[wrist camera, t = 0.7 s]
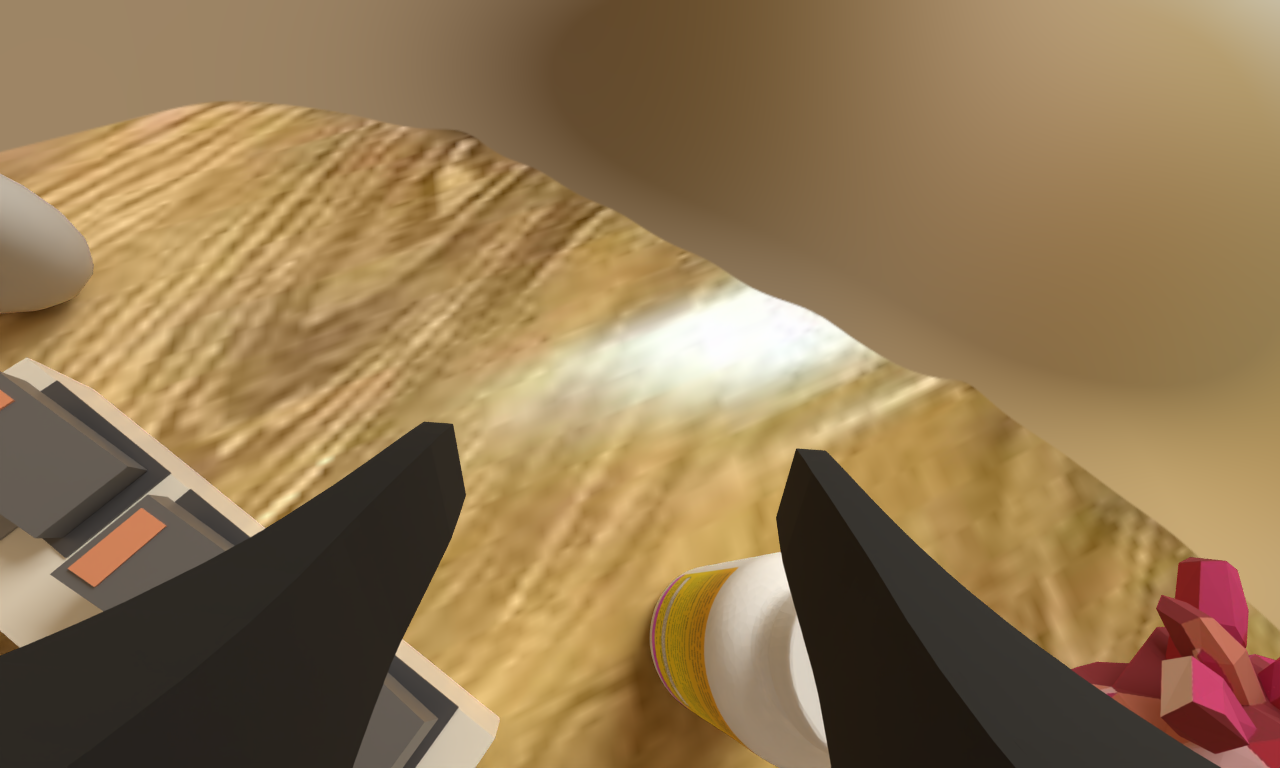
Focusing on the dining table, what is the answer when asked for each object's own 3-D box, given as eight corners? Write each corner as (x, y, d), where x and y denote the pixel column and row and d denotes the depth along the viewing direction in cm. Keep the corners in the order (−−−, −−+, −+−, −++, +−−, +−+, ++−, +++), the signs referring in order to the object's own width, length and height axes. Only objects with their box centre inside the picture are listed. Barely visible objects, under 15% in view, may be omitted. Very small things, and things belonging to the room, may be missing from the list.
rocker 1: (62, 537, 18) (32, 538, 17) (-72, 443, 18) (-114, 436, 16) (147, 470, 20) (126, 465, 18) (26, 380, 19) (-6, 369, 18)
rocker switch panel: (386, 887, 19) (352, 954, 15) (-66, 498, 21) (-190, 477, 17) (500, 716, 22) (495, 740, 18) (94, 388, 24) (17, 350, 20)
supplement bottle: (664, 733, 23) (802, 869, 11) (633, 583, 25) (720, 570, 14) (789, 689, 25) (1017, 769, 13) (749, 553, 27) (913, 519, 15)
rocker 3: (367, 816, 16) (344, 829, 15) (261, 705, 18) (232, 708, 16) (438, 718, 17) (423, 722, 16) (335, 623, 19) (314, 620, 18)
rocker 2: (211, 663, 18) (192, 674, 16) (78, 570, 17) (47, 574, 16) (288, 585, 19) (276, 589, 18) (167, 496, 18) (146, 494, 17)
